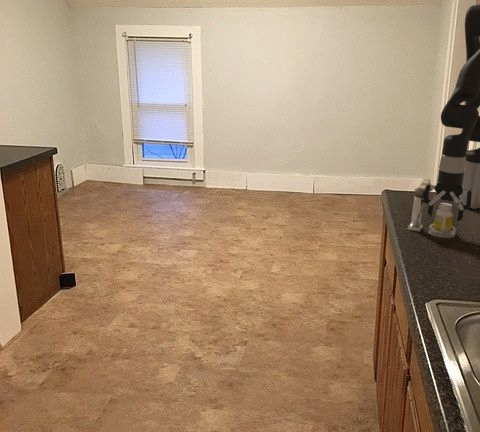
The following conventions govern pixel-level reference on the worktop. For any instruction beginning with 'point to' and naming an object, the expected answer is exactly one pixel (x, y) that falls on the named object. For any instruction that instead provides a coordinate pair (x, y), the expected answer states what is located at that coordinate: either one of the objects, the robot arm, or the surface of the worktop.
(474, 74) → the robot arm
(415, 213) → the frame
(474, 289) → the worktop surface
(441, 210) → the supplement bottle
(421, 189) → the bar
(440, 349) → the worktop surface
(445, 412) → the worktop surface
